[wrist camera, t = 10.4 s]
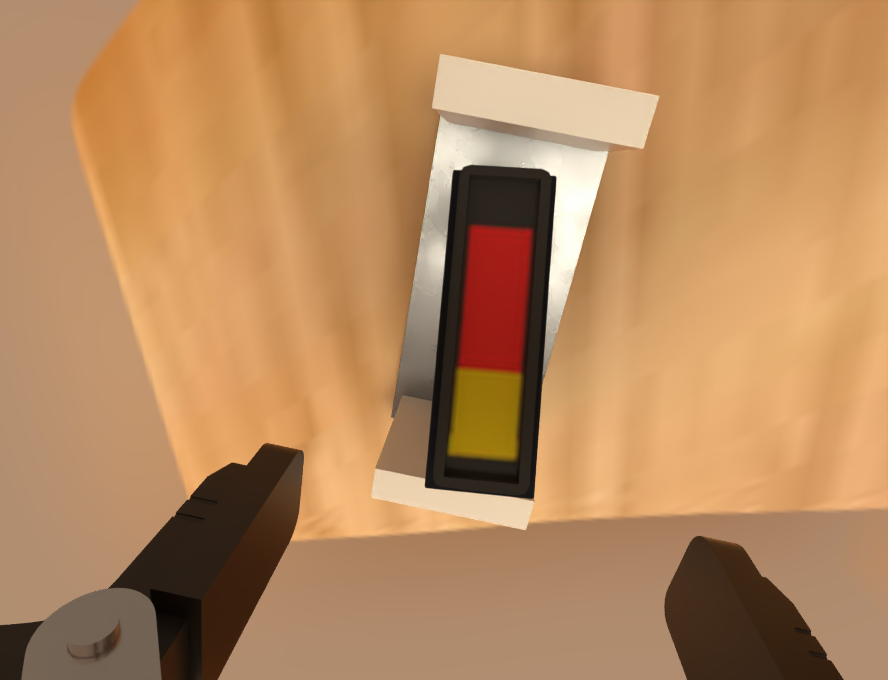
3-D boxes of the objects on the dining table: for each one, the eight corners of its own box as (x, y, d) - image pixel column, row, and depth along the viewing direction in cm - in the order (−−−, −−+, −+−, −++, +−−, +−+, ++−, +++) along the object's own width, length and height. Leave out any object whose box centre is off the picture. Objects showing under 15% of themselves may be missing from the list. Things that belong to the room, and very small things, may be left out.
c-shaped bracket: (455, 84, 25) (440, 54, 18) (608, 114, 25) (659, 95, 17) (398, 418, 32) (370, 497, 25) (517, 443, 32) (525, 530, 25)
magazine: (446, 441, 31) (420, 496, 16) (463, 235, 32) (455, 104, 17) (506, 447, 30) (538, 508, 15) (522, 240, 31) (566, 110, 16)
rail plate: (447, 85, 26) (445, 82, 25) (613, 117, 26) (618, 116, 25) (394, 410, 33) (391, 417, 32) (524, 436, 33) (525, 444, 32)
